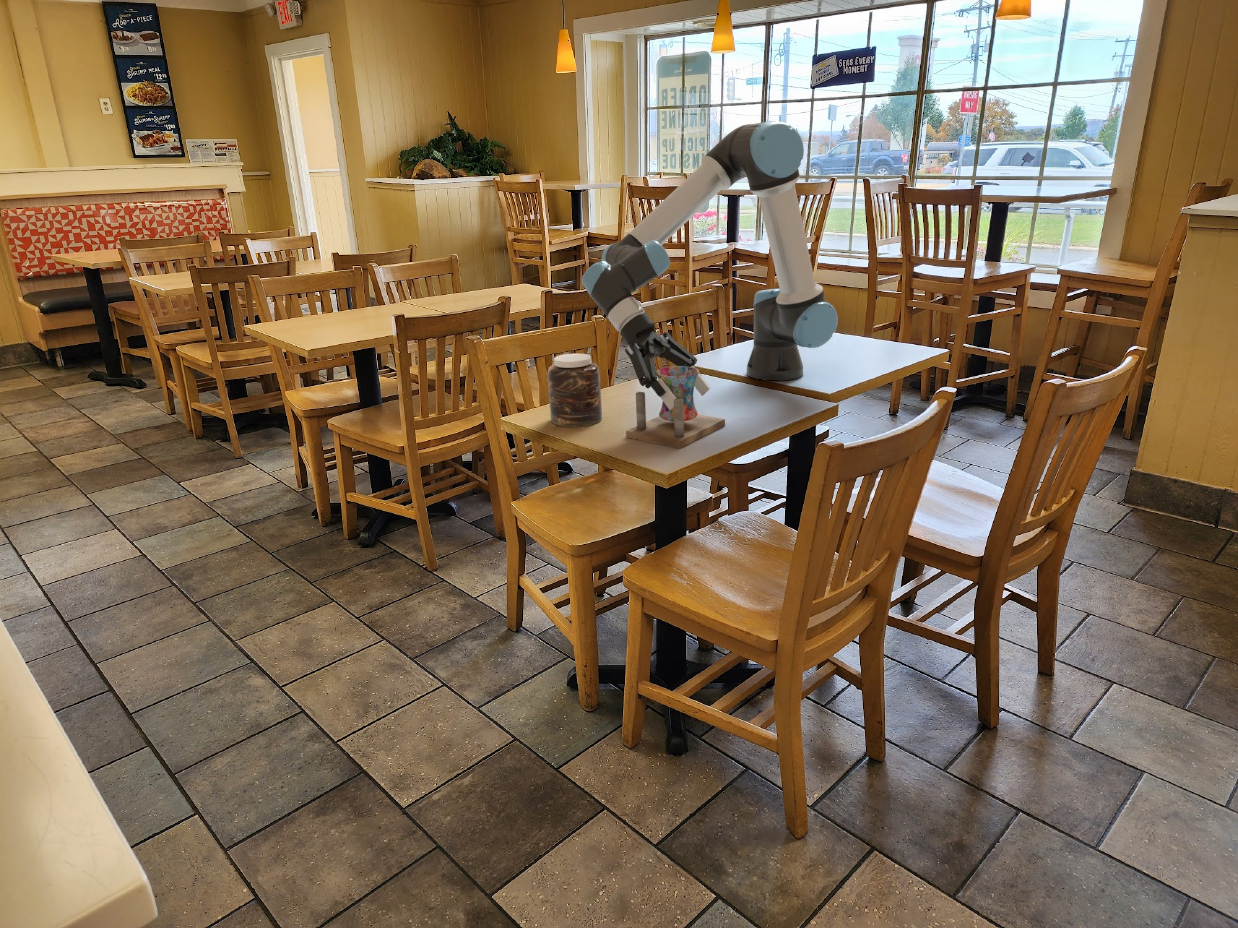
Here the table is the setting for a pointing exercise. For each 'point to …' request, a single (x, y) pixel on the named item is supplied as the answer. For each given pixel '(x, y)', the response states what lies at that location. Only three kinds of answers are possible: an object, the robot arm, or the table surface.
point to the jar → (574, 391)
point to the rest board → (671, 426)
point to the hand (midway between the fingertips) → (691, 399)
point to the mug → (679, 389)
